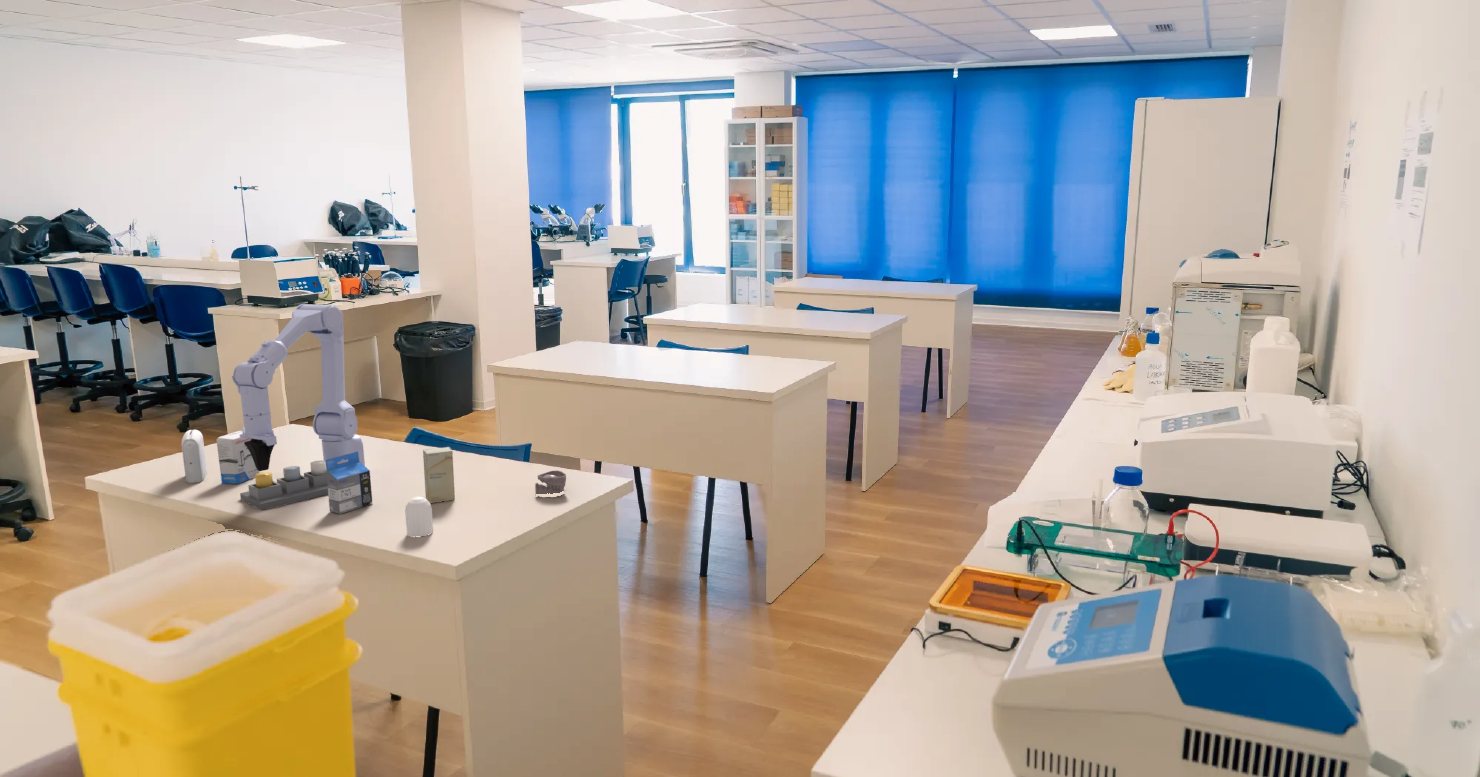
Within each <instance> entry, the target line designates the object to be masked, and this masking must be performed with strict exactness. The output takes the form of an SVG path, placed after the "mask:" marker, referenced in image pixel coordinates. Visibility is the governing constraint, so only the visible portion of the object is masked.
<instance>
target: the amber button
mask: <svg viewBox="0 0 1480 777" xmlns="http://www.w3.org/2000/svg"><path fill="white" fill-rule="evenodd" d="M254 479H255V484H256V487H257V488H265V487H269V486H273V481H274V479H273V473H272V472H271V471H261V472H260V473H258V474H255V477H254Z"/></svg>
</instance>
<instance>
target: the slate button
mask: <svg viewBox="0 0 1480 777" xmlns="http://www.w3.org/2000/svg"><path fill="white" fill-rule="evenodd" d="M282 471H283V477H284V481H286V482H292V481H296V480H300V479H301V475H302V474H301V467H300V466H297V465H292V466H291V465H290V466H286V467H284V468H283V469H282Z"/></svg>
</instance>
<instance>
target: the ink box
mask: <svg viewBox="0 0 1480 777" xmlns="http://www.w3.org/2000/svg"><path fill="white" fill-rule="evenodd" d="M240 434H243V432H242V430H238V431H234V432H231V433H228V434H225V435H221V436H218V437H217V438H216V446H217V455H218V456H217V457H218V464H219V471H220V472H219V473H220V480H221V484H228V485H229V484H232V485H239V484H241V483H242V484H243V483H245V482H247V481H249V480H251V479H255V474H258V473H261V471H258V470H257V468H256V466H255V463H254V461H253V458H252V455H251V453H250V452H249V450H248V448H247V447H246V446H245V444H244V442H246V441H250V440H251V438H240Z"/></svg>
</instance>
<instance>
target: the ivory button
mask: <svg viewBox="0 0 1480 777" xmlns="http://www.w3.org/2000/svg"><path fill="white" fill-rule="evenodd" d="M309 464H310V465H309V466H310V472H311V475H313V476H319V475H323V474H327V472H326V471H327V470H326V463H325V461H324V460H314V461H311V462H310V463H309Z"/></svg>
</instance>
